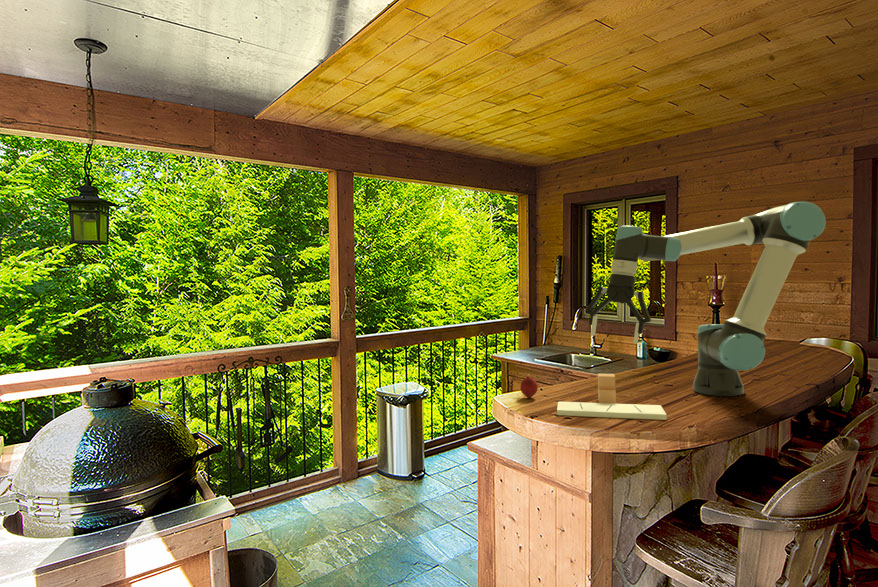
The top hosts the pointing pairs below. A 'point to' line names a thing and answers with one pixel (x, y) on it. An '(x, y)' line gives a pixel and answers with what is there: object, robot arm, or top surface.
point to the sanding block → (606, 388)
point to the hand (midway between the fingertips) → (613, 339)
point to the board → (611, 410)
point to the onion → (529, 387)
